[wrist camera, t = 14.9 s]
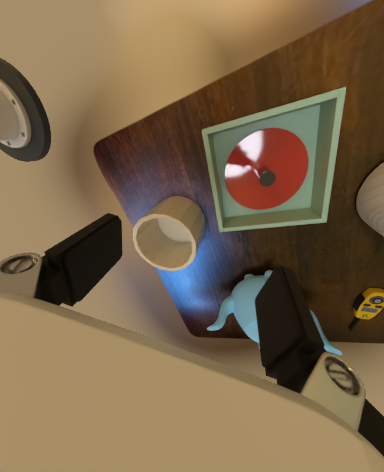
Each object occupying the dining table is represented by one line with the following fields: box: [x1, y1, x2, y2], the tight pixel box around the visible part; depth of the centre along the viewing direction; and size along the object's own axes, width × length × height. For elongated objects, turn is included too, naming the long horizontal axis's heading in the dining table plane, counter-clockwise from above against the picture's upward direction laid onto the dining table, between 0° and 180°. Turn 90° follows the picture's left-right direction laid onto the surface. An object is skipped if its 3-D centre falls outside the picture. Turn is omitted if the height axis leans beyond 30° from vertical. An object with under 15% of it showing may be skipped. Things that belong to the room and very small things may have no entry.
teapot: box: [207, 270, 342, 355], centre depth 39 cm, size 16×20×14 cm
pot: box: [132, 196, 206, 271], centre depth 36 cm, size 13×13×10 cm
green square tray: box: [202, 87, 346, 232], centre depth 29 cm, size 18×18×6 cm
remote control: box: [349, 288, 384, 331], centre depth 40 cm, size 5×2×15 cm
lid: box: [225, 128, 309, 210], centre depth 28 cm, size 14×14×6 cm
